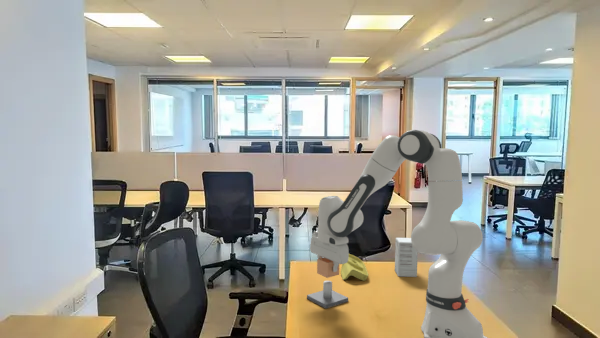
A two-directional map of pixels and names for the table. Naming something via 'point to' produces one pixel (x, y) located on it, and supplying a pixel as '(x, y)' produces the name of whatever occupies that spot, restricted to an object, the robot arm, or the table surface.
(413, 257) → the supplement box
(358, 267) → the plastic component
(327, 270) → the sleeve
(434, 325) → the robot arm
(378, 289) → the table surface
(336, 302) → the base
